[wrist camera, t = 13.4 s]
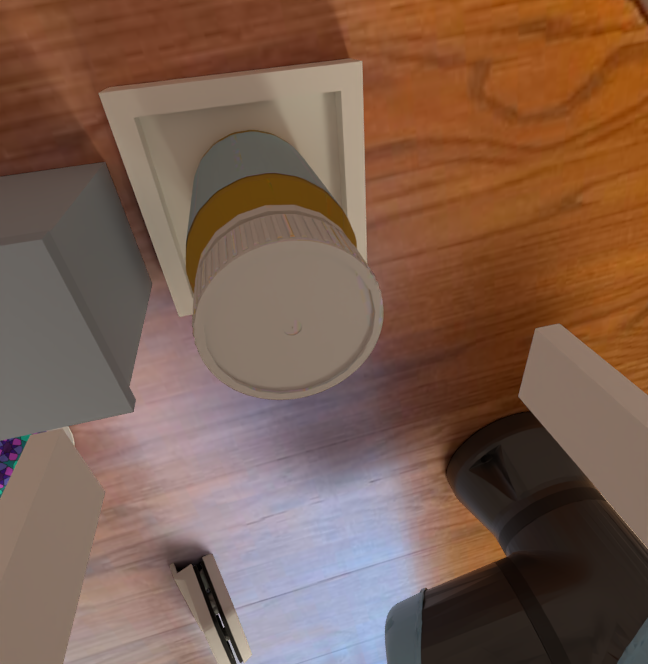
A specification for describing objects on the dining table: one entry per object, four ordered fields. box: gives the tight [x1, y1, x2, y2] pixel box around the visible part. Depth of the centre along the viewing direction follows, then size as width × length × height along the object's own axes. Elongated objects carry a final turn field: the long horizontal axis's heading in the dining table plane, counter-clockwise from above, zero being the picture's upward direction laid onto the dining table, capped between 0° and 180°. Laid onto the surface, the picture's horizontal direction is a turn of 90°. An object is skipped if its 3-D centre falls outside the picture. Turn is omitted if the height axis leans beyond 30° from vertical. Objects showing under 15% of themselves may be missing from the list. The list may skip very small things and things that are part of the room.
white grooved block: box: [169, 554, 252, 664], centre depth 51 cm, size 17×5×10 cm, turn 1°
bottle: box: [186, 130, 384, 400], centre depth 19 cm, size 7×7×15 cm
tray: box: [98, 58, 367, 317], centre depth 25 cm, size 13×13×2 cm
